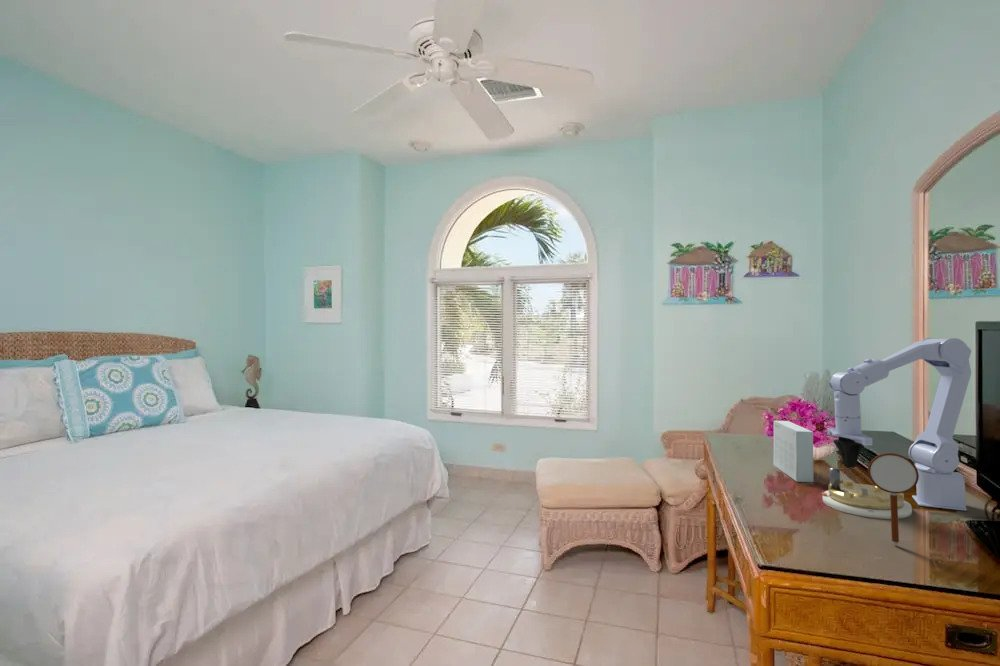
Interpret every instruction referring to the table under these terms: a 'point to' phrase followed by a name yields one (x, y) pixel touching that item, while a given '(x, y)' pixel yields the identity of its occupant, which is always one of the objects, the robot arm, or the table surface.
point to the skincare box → (793, 450)
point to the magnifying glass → (893, 481)
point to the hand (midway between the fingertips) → (850, 466)
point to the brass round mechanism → (860, 493)
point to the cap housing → (882, 514)
